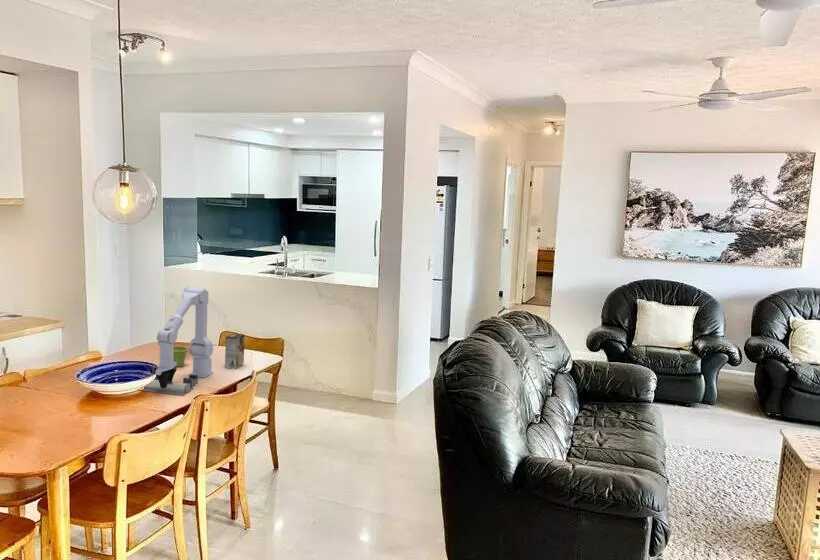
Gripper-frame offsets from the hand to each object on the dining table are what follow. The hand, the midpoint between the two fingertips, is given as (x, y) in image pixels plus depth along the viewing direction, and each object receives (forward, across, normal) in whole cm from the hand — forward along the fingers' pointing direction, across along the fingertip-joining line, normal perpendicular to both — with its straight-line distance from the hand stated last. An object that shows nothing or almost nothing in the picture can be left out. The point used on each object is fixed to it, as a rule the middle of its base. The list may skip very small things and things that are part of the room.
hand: (165, 386), depth 267 cm
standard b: (+2, -9, -7) cm, 12 cm away
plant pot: (+2, -35, -13) cm, 37 cm away
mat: (+2, 0, 0) cm, 2 cm away
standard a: (+2, -9, +7) cm, 12 cm away
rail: (+1, 0, 0) cm, 1 cm away
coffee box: (+2, -44, +13) cm, 46 cm away
